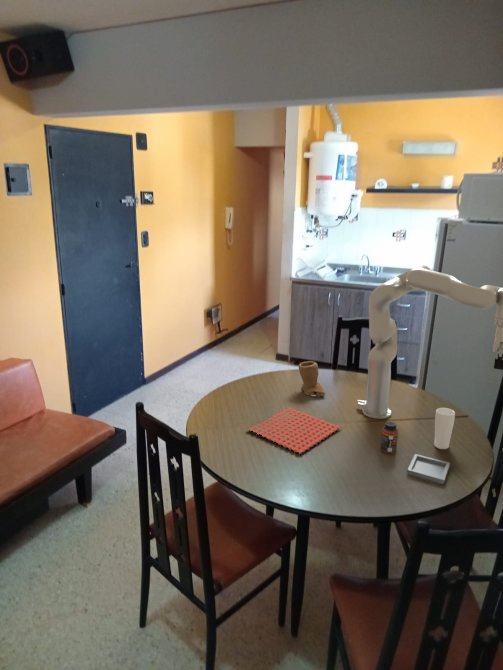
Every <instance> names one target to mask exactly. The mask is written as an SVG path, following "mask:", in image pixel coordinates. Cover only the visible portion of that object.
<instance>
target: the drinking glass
mask: <svg viewBox="0 0 503 670" xmlns="http://www.w3.org/2000/svg"><path fill="white" fill-rule="evenodd" d="M455 418H456V412H455V411H454V410H453V409H451V408H448V407H439V408H436V410H435V417H434V441H433V445H434V447H435V448H437V449H440V450H448V449H449V447H450V441H451V437H452V433H453V428H454V424H455Z"/></svg>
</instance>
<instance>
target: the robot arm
mask: <svg viewBox="0 0 503 670" xmlns="http://www.w3.org/2000/svg"><path fill="white" fill-rule="evenodd" d="M415 290H419V291H423V292H425V293H429V294H434V295H437V296H440V297H444V298H446V299H448V300H450V301H453V302H455V303H458V304H460V305H463V306H467V307H471V308H474V309H477V310H478V309H479V310H489V309H492V308H493V307H494V306H495V305H496V309H495V316H494V323H493V325H494V326H496V329H495V335H494V340H493V341H494V342H493V349H492V352H494V353H495V352H496V354H495V358H494V363H493V369H494V370H495V369H496V370H501V371H502V370H503V287H501V286H497V285H492V284H491V285H490V284H485V285H482V286H481V287H477V286H473V285H470V284H467V283H465V282H462V281H460V280H458V279H457V278H456V277H455V276H454V275H451V274H447V273H445V272H439V271H436V270H432V269H430V267H428V266H427V265H425V264H419V265H416V266H414V267H412V268H410V269H408V270H406V271H404V272H403V273H401V274H398V275H396V276H395V277H393V278H391V279H389V280H386V281H385V282H383V283H382V284H380V285H378V286H376V287H375V288H374V289H373V291H371V294H370V295H369V299H368V324H369V325H368V326H369V327H368V329H369V330H368V331H369V337H370V339H371V341H372V342H374V343H375V346H374V347H372V348H371V349H370V350H369V353H368V356H367V371H368V372H367V387H366V400H361V399H357V402H356V403H357V406H358V407H362V409H361V413H362V414H363V415H364V416H366V417H368V418H371V419H375V420H376V419H377V420H384V419H388V418H390V417H391V415H392V410H391V409H390V408H389V402H390V401H389V399H390V387H391V375H392V374H391V373H392V372H391V365H392V364H391V363H392V361H393V360H394V359H395V358H396V356H397V354H398V327H397V324H396V321H395V320H394V319H393V318H391V314H390V313H391V311H390V310H391V309H390V304H391V303H393V302H395V301H396V300H399V299H400V298H401V297H403V296H404V295H407V294H409V293H411V292H413V291H415Z"/></svg>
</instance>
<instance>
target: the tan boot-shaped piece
mask: <svg viewBox="0 0 503 670" xmlns="http://www.w3.org/2000/svg"><path fill="white" fill-rule="evenodd" d="M298 373H299V375H300V377H301V381H302V384H301V388H302V390H303V392H304V393H305V395H307V396H309V395H316V396H318V397H322V396H325V395H326V391H325V389H324V388H323V386H322V384H321V383H319V382H318V377H319V366H318V363H317V362H315V361H313V360H308V361H303V362H300V363H299V364H298Z"/></svg>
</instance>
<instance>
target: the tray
mask: <svg viewBox="0 0 503 670" xmlns="http://www.w3.org/2000/svg"><path fill="white" fill-rule="evenodd" d="M450 465H451V462H449V461H448V462H447V461H444V460H440V459H437V458H432V457H428V456H426V455H425V456H424V455H421V454H417V453H415V454H414V455H413V457H412V460H411V462H410V464H409V466H408V468H407V474H406V475H407V476H409V477H413V478H417V479H420V480H422V481H423V480H424V481H427V482H430V483H435V484H439V485H442V486H444V485H445V482H446V479H447V477H448V473H449V469H450Z"/></svg>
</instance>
